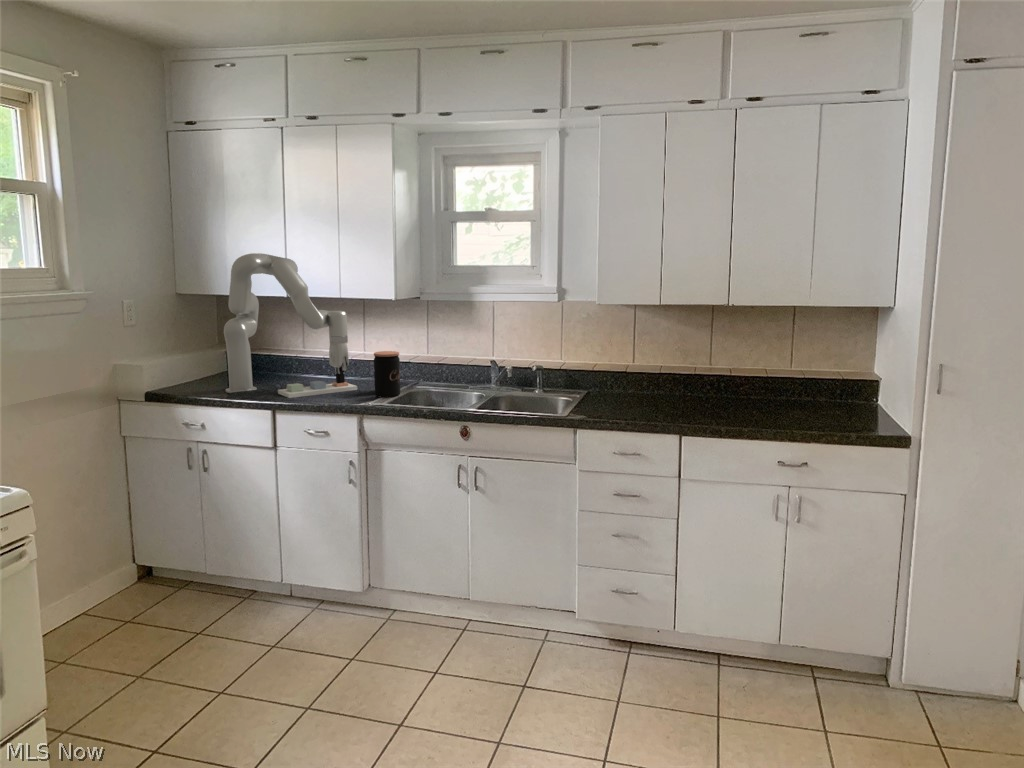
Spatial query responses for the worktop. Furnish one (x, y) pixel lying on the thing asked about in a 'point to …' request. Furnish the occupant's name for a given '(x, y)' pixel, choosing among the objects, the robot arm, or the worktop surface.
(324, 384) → the slate button
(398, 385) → the coffee jar
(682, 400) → the worktop surface
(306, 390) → the button panel
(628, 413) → the worktop surface
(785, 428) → the worktop surface
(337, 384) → the terracotta button
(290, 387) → the sage button
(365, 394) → the worktop surface
